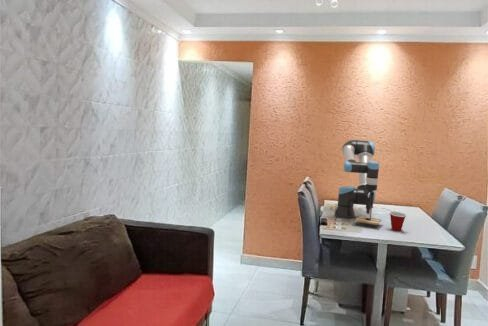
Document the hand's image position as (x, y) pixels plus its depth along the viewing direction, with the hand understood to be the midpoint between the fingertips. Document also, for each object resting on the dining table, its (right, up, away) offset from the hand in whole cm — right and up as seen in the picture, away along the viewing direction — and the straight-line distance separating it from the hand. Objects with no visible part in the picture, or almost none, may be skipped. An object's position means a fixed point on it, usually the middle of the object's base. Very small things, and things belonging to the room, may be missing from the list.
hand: (368, 217), depth 292 cm
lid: (0, -2, 0) cm, 2 cm away
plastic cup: (+16, -8, -9) cm, 20 cm away
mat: (0, -6, 0) cm, 6 cm away
